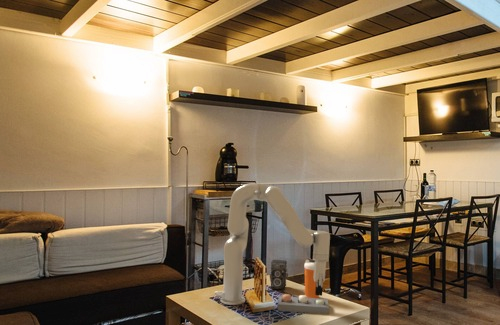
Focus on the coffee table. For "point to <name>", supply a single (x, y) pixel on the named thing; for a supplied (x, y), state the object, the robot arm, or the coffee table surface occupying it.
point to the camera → (278, 274)
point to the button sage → (320, 302)
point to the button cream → (303, 299)
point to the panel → (303, 305)
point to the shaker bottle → (310, 279)
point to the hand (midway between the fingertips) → (318, 294)
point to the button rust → (286, 298)
